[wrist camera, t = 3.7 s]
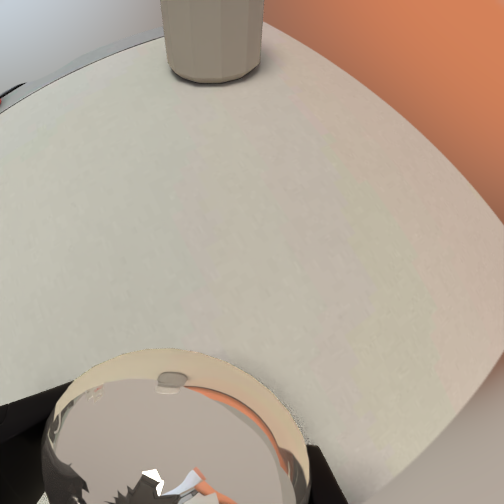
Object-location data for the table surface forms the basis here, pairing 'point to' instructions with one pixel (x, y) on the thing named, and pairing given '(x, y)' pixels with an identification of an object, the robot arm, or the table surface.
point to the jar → (212, 38)
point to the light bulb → (172, 436)
